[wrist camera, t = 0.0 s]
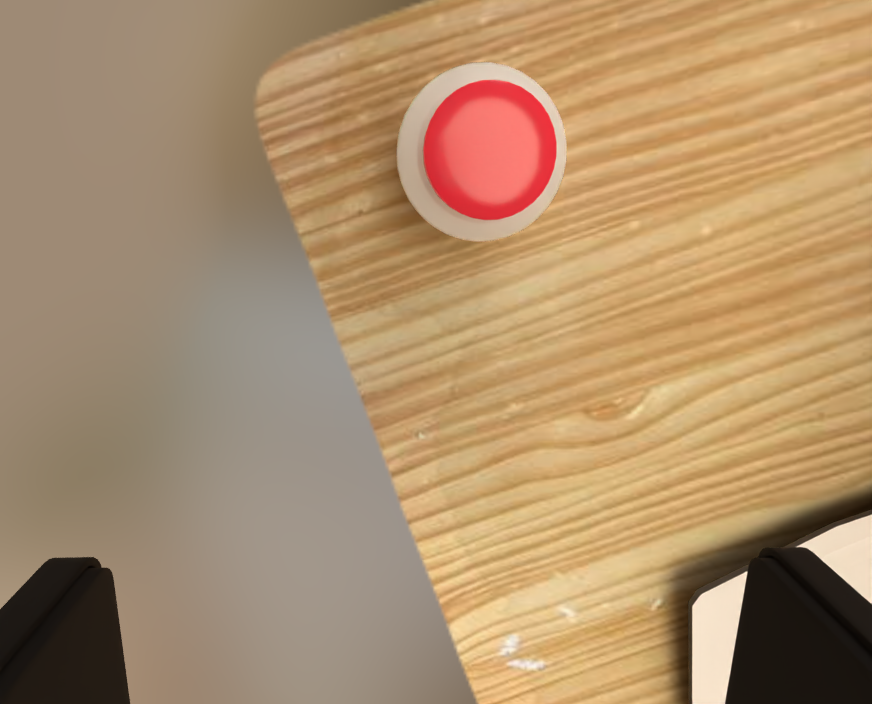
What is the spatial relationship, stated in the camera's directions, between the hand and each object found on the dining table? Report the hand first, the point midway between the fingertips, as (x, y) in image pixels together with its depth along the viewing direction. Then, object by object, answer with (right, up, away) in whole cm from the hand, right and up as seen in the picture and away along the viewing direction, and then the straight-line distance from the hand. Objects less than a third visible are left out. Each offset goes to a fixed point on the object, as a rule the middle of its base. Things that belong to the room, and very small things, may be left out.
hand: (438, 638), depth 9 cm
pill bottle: (+1, +13, +18) cm, 22 cm away
